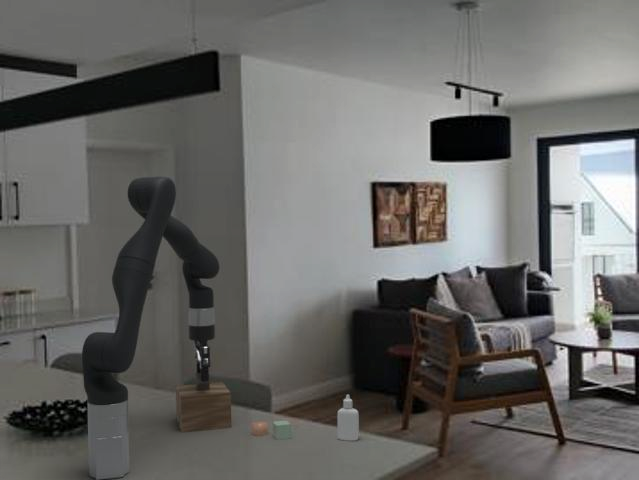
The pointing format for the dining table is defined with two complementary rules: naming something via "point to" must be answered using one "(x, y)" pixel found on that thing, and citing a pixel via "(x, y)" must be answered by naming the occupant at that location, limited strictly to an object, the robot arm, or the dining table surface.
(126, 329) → the robot arm
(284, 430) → the green cube
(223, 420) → the cover
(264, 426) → the orange flattened ball
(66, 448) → the dining table surface
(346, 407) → the eye dropper bottle
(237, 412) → the dining table surface
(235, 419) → the dining table surface
